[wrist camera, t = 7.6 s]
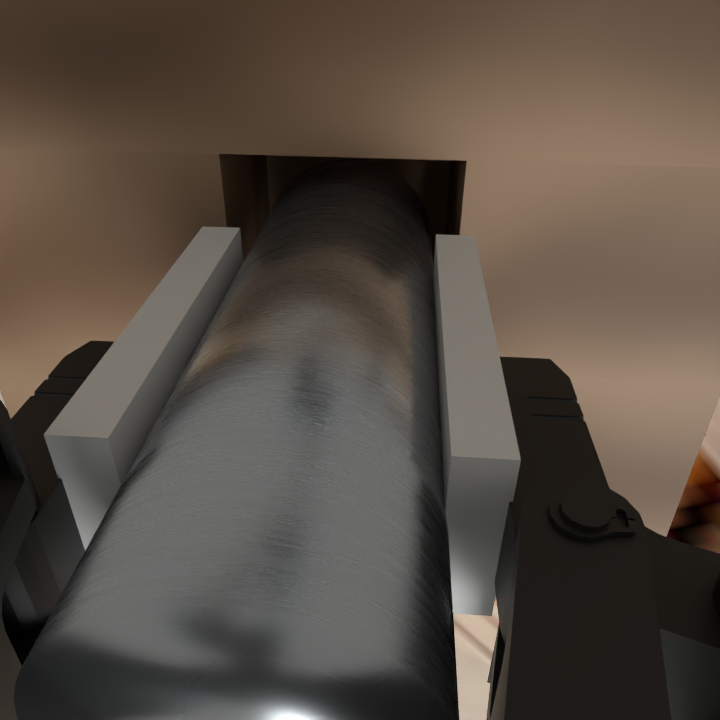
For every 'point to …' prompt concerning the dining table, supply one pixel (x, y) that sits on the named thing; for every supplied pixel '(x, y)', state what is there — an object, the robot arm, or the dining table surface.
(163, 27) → the walnut block
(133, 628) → the pin
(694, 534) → the dining table surface
